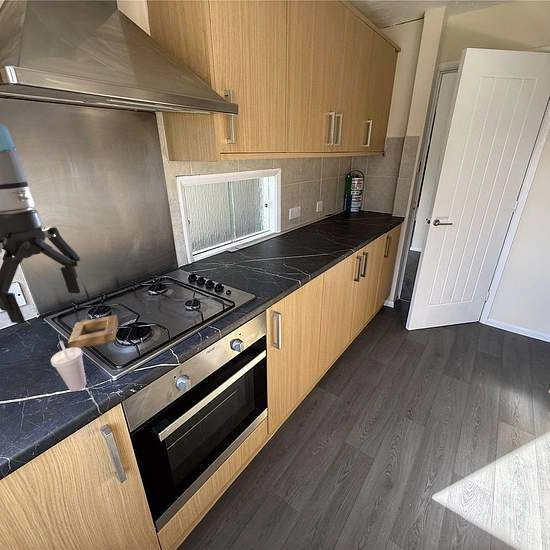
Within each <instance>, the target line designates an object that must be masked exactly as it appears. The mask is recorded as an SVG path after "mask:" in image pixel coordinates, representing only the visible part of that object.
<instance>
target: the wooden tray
mask: <svg viewBox="0 0 550 550" xmlns="http://www.w3.org/2000/svg"><path fill="white" fill-rule="evenodd" d="M118 326H119V320H118V315H117V314H113V315H108V316H107V315H106V316H102V317H97V318H93V319H92V318H91V319H88V320H87V319H86V320H82V321H77V322H76V323H75V325H74V327H73V329H72V332H71V334H70V336H69V339H68V341H67V344H68V348H73V347H77V348H80V347H83V346H87V347H86V348H88V347H93V346H98V345H103V344H106V343H111V342H114V341H116V336H117V332H118V328H119V327H118ZM103 329H104V330H103ZM98 330H101V331H98ZM94 331H96V332H94ZM116 331H117V332H116ZM88 332H90V333H88ZM91 332H92V333H91ZM80 349H81V348H80Z"/></svg>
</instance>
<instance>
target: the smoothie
mask: <svg viewBox="0 0 550 550" xmlns="http://www.w3.org/2000/svg"><path fill="white" fill-rule="evenodd" d="M59 345H60V347H61V350H60V351H58V352H56V353H55V354H53V356H52V357H51V358H50V364H51V366H52V367H54V368H55V370H56V371H57V372H58V374H59V376H60V378H61V379H62V380H63V382H64V383H65V385H66V386H67V388H68V389H69V391H70V392H78V391H81V390H82V389H85V387H86V385H87V378H86V372H85V367H84V360H83V355H84V352H83V351H82V348H77V347H73V348H70V347H68V348H66V347H65V345H64V341H63V340H59Z"/></svg>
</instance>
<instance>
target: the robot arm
mask: <svg viewBox="0 0 550 550" xmlns="http://www.w3.org/2000/svg"><path fill="white" fill-rule="evenodd" d="M29 186H30V185H29V184H28V181H27V178H26V175H25V172H24V169H23V166H22V162H21V160H20V157H19V154H18V151H17V146H16V145H15V143H14V141H13V139H12V137H11V134H10V131H9V129H8V128H7V127H6V126H5V125H4V124H2V123H0V254H2V253H3V251H4V254H3V256H2V258H1V259H2V263H1V265H0V310H1V311H3V312H6V314H7V316H8V318H9V320H10V322H11V323H12V324H21V325H22V324H24V323H26V319H25V317H24V315H23V312H22V310H21V307H20V305H19V302H18V301H17V298H16V296H15V294H14V293H13V292H9V291H10V289H11V286H12V285H13V284H12V283H13V281H14V278H15V276H16V274H17V271H18V268H19V265H20V264H21V263H22V262H23V260H24V259H28V258H31V257H32V256H35V255H40V254H43V255H44V256H47V258H49V259H51V260H53V261H55V262H56V263H58V264H60V265H62V267H60V271H61V275H62V277H63V280H64V283H65V286H66V288H67V289H66V290H67V291H68V293H69V294H80V293H81V289H80V286H79V283H78V280H77V279H78V273H77V269H76V267H78V266H79V265H78V264H79V263H78V262H80V261H81V257H80V256H79V255H78V253H77V252H76V251H75V250H74V249H73V248H72V247H71V246H70V245H69V243H68V242H67V241H66V240H65V239H64V238H63V236H62V235H61V234H60V231H59V229H58V227H56V226H45V227H44V228H42V227H43V222H42V220H41V217H40V214H39V211H38V210H37V209H35V208H34V207H35V206H36V204H35V200H34V198H33V195H32V192H31V190H30V189H31V188H30V187H29ZM46 239H48V240H49V241H50V243H52V245H53V246H54V247H55V248H56V249H57V250H58V251H57V250H56V249H55V248H54V247H53V246H52V245H50V244H48V243H47V242H46Z"/></svg>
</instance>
